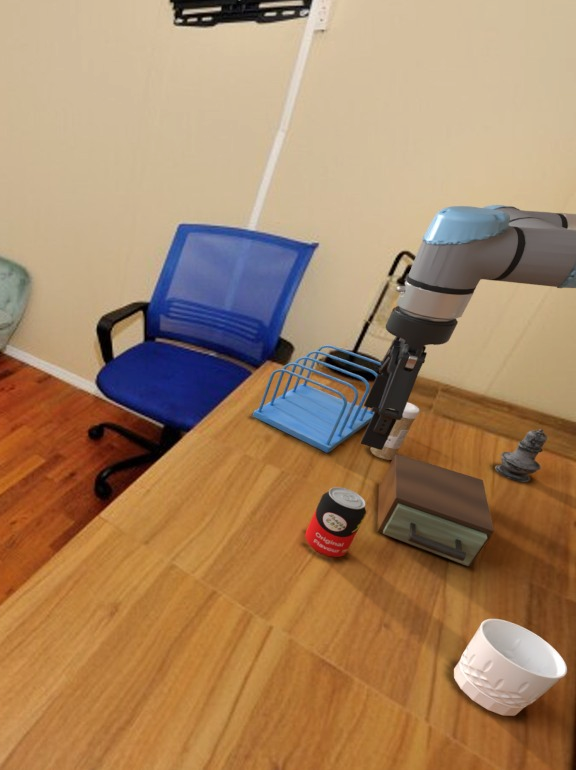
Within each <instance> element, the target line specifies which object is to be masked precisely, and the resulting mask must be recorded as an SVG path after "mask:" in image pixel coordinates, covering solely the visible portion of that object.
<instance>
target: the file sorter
mask: <svg viewBox="0 0 576 770" xmlns="http://www.w3.org/2000/svg"><path fill="white" fill-rule="evenodd" d="M325 348H328V349H333V350H336V351H338V352H341V353H345V354H348V355H351V356H353V357H355V358H358V359H362V360H364V361H367V362H370V363H373V364H375V365H378V366H381V361H378V360H374V359H372V358H369V357H366V356H363V355H361V354H357V353H354V352H352V351H349V350H346V349H343V348H340V347H337V346H334V345H330V344H325V345H322V346H320V347H319V348H317V350H312V351H310V352H308V353H307V354H306V355H305V356H301V357H299V358H297V359H296V360H295V361H294V362H289V363H287V364H285V365H284V366H283V367H282V368H278V369H276V370H274V371H272V372H271V374H270V375H269V378H268V381H267V384H266V388H265V390H264V393H263V396H262V399H261V402H260V405H259V407H258V408H257V409H255V410H254V411H253V414H252V417H253V418H255V419H257V420H259V421H261V422H263V423H265V424H268V425H269V426H272V427H274V428H276V429H278V430H280V431H282V432H284V433H286V434H288V435H290V436H292V437H294V438H296V439H298V440H300V441H302V442H304V443H306V444H308V445H310V446H312V447H314V448H316V449H319V450H321V451H323V452H325V453H326V454H329V453H331V452H332V451H333V450H334V449H335V448H337V447H338V446H340V445H341V444H342V443H344V442H346V440H348V439H349V438H350V437H352V436H353V435H354V434H356V433H357V432H358V431H360V430H361V429H362V428H364V427H365V426H366V425H369V423H370V421H371V418H372V416H373V414H374V412H373V411H371V409H372V408H370V410H369V407H365V406H364V403H365V401H366V399H367V397H368V395H369V392H370V390H371V385H370V383H369V382H368V380H367V379H366V378H365V377H363V376H361V375H359V374H356V373H353V372H351V371H349V370H346V369H343V368H340V367H337V366H336V365H332V364H330V363H327V362H324V361H321V360H319V359H318V357H319V355H322V356H324V357H328V358H331V359H333V360H336V361H339V362H341V363H344V364H347V365H350V366H353V367H355V368H358V369H361V370H364V371H367V372H369V373H371V374H372V375H374V377H375V378H376V377H377V375H378V374H379V373H377V372H376V370H373V369H371V368H368V367H366V366H364V365H360V364H357V363H354V362H352V361H349V360H346V359H343V358H340V357H338V356H335V355H332V354H329V353H326V352H323V351H322V350H323V349H325ZM311 355H314V356H313V357H310V356H311ZM302 360H303V362H302V364H301V363H299V362H300V361H302ZM308 361H311V364H310V367H308V366H306V365H307V363H308ZM315 363H316V364H318V365H322V366H324V367H327V368H331V369H333V370H336V371H338V372H341V373H343V374H346V375H348V376H351V377H353V378H356V379H359V380H361V381H362V382H363V383H364V384H365V387H366V389H365V392H364V394H363V396H362V398H361V399H360V403H359V405H358V404H357V401H358V399H359V391H358V389H357V388H356V387H355V386H354V385H353V384H351V383H349V382H348V381H345V380H342V379H340V378H337V377H334V376H332V375H330V374H327V373H324V372H322V371H319V370H316V369H314V366H315ZM291 366H292V369H291V370H288V369H287V368H288V367H291ZM297 367H299V368H300V370H299V373H296V369H297ZM304 370H307V371H308V372H307V374H306V376H303V373H304ZM276 373H280V375H279V378H278V380H277V383H276V386H275V389H274V392H273V395H272V398H271V400H270V401H269V402H267V403H266V404H265V402H266V399H267V396H268V393H269V390H270V388H271V384H272V382H273V379H274V377H275V375H276ZM285 373H286V374H288V375H289V377H288V380H287V382H286V385H285V388H284V390H283V392H282V394H281V395H279V396H278V397H276V396H277V394H278V391H279V388H280V386H281V383H282V381H283V377H284V374H285ZM312 373H314V374H317V375H319V376H322V377H324V378H327V379H330V380H333V381H335V382H338V383H340V384H342V385H345V386H347V387H349V388H350V389H352V390H353V392H354V398H353V401H352V402H350V401H348V400H347V397H346V396H345V395H344V394H343V393H342V392H341V391H339V390H337V389H334V388H332V387H331V386H327V385H325V384H323V383H320V382H318V381H315V380H313V379H310V376H311V374H312ZM293 376H294V377H296V378H297V379H296V380H295V384H294V386H293V388H292V389H290V390H288V389H289V387H290V384H291V382H292V379H293ZM300 380H304V382H303V383H300ZM308 382H309V383H310V384H313V385H316V386H318V387H320V388H323V389H326V390H328V391H330V392H332V393H335V394H336V395H338V396H339V397H337V396H335V395H332V394H330V393H328V392H325V391H323V390H321V389H318V388H316V387H314V386H311V385H308Z"/></svg>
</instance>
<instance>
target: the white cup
mask: <svg viewBox="0 0 576 770" xmlns="http://www.w3.org/2000/svg"><path fill="white" fill-rule="evenodd" d="M567 673H568V666H567V663H566V661H565V660H564V658H563V657H562V655H561V654H560V653H559V652H558V651H557V650H556V649H555V647H554V646H552V645H551V644H550V643H549V642H547V641H546V640H545V639H543V638H542V637H541V636H539V635H538V634H536V633H534V632H533V631H531V630H529V629H527V628H525V627H523V626H522V625H519V624H517V623H513V622H511V621H509V620H504V619H499V618H488V619H485V620H483V621H482V622H481V623H480V625H479V627H478V628H477V630H476V632H475V633H474V634H473V636H472V637H471V639H470V641H469V642H468V643H467V645H466V647H465V649H464V651H463V653H462V654H461V657H460V659H459V661H458V662H457V663H456V665H455V667H454V668H453V679H454V680H455V682H456V684H457V685H458V687H459V688H460V690H461V691H462V692H463V693H464V694H465V695H466V696H467V697H469V698H470V699H471V701H473V702H474V703H476V704H477V705H479V706H481V707H482V708H484V709H486V710H487V711H488V712H489V711H490V712H493V713H494V714H498V715H501V716H505V717H507V716H508V717H509V716H510V717H516V715H518V714H519V713H520V712H522V710H523V709H525V708H526V707H528V706H530V705H532V704H533V703H534V702H535V701H537V700H538V699H540V697H542V696H543V695H545V693H547V692H548V691H549V690H550V689H551V688H552V687H553V686H554V685H556V684H557V683H558V682H559V681H561V680H562V679H563V678H564V677H565V676H566V675H567Z"/></svg>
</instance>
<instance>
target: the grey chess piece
mask: <svg viewBox="0 0 576 770" xmlns="http://www.w3.org/2000/svg"><path fill="white" fill-rule="evenodd" d="M546 441H548V435H547V434H545V433H544V429H543V428H539V429H538V430H529V431H528V432H527V433H526V435H525V436H524V437H523V439H522V440H520V441H517V444H518V446H517V447H516V448H515V450H514V451H504V452H502V453H501V454H500V457H501V458H500V461H501V464H497V465H496V466H495V467H494V469H495V471H496V472H497V473H499V474H500V475H501V476H503V477H505V478H507V479H509V480H513V481H516V482H520V483H528V482H530V481H531V477H530V475H532V474H534V473H536V471H539V470H541V468H542V467H541V465H540V463H539V462H537V461H536V457H537V456H538V454H539V453H542V452H543V448H542V447H543V446H544V444H545V443H546Z"/></svg>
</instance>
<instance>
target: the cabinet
mask: <svg viewBox="0 0 576 770" xmlns="http://www.w3.org/2000/svg"><path fill="white" fill-rule="evenodd" d="M390 461H391V462H390V463H389V466H388V467H387V469H386V471H385V473H384V475H383V477H382V479H381V481H380V483H379V485H378V503H377V531H376V532H377V533H379V534H382V535H384V536H386V537H389V538H392V539H394V540H397V541H399V542H403V541H401V540H398V539H396V538H393V537H390V536H388V535H385V534H383V530H384V528H385V526H386V524H387V523H388V521H389V519H390V517H391V515H392V513H393V512H394V510H395V508H396V506H397V504H398V503H399V504H400V503H401V504H404V505H407V506H410V507H413V508H416V509H419V510H421V511H424V512H427V513H430V514H433V515H436V516H439V517H441V518H444V519H447V520H450V521H453V522H456V523H459V524H461V525H464V526H467V527H470V528H473V529H476V530H477V531H479V532H482V533H485V534H487V540H486V541H485V542H484V544H483V545H482V547H481V548H480V550H479V551H478V553H477V554H476V556H475V557H474V558H473V560H472V561H471V563H470V564H469V566H466V565H464V564H461V563H459V562H456V561H453V560H451V559H448V558H445V557H443V556H440V555H438V554H435V553H432V552H430V551H427V550H424V549H422V548H419V547H417V546H414V545H411V544H409V543H406V542H403V543H405V544H407V545H410V546H413V547H416V548H417V549H418V548H419V549H421V550H423V551H425V552H429V553H432V554H434V555H437V556H439V557H442V558H445V559H447V560H449V561H452V562H455V563H457V564H460V565H463V566H466V567H468V568H470V567H472V565H473V564H474V562H475V560H476V559H477V557H478V556H479V554H480V553H481V552H482V550H483V549H484V547H485V545H486V544H487V543H488V541H489V540H490V539H491V537H492V536H493V534H494V533H495V529H494V525H493V520H492V516H491V511H490V507H489V502H488V501H489V500H488V498H487V494H486V493H487V492H486V487H485V484H484V480H483V479H481V478H478V477H475V476H472V475H469V474H466V473H462V472H458V471H455V470H452V469H449V468H445V467H442V466H439V465H436V464H433V463H429V462H426V461H423V460H419V459H416V458H413V457H410V456H406V455H403V454H400V453H398V452H397V453H396V454H395V456H394V457H393V459H392V460H390Z"/></svg>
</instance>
